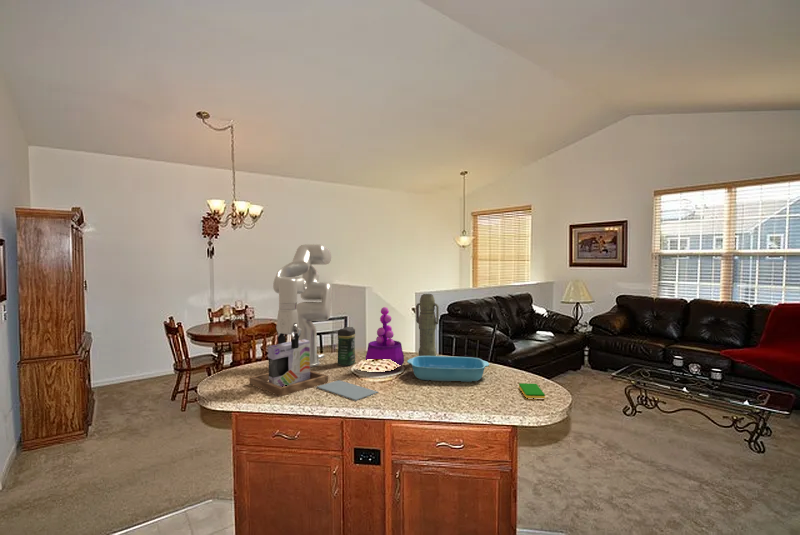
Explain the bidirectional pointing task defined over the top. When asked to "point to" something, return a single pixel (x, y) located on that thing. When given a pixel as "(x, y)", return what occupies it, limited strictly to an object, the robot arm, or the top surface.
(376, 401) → the top surface
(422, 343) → the thermos
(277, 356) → the cake pan box
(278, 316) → the robot arm
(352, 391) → the mat
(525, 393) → the dish sponge
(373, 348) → the decorative plant
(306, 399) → the top surface
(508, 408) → the top surface
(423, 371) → the casserole dish
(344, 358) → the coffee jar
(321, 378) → the frame
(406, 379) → the top surface
